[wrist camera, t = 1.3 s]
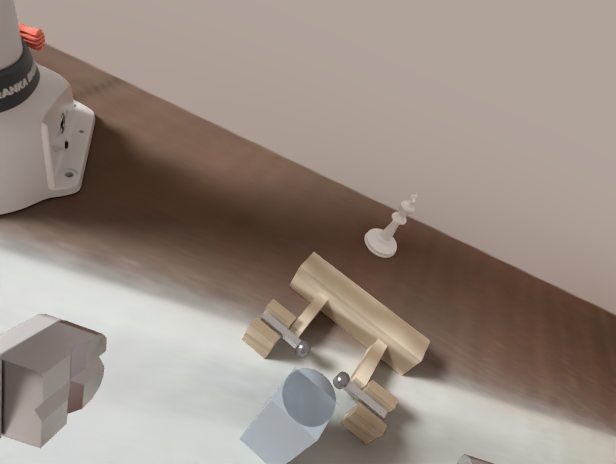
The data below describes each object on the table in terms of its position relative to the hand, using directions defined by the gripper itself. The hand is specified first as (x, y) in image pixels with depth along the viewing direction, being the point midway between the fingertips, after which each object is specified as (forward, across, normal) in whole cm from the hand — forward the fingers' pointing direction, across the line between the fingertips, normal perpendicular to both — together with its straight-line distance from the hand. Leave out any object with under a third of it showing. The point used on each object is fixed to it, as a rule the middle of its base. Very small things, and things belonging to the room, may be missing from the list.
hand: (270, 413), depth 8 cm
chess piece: (+47, -6, +9) cm, 48 cm away
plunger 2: (+25, -6, +18) cm, 31 cm away
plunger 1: (+26, +3, +15) cm, 30 cm away
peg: (+20, +1, +21) cm, 29 cm away
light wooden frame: (+30, -2, +17) cm, 34 cm away
